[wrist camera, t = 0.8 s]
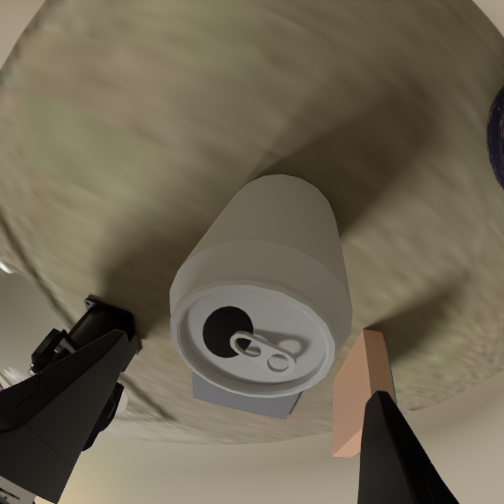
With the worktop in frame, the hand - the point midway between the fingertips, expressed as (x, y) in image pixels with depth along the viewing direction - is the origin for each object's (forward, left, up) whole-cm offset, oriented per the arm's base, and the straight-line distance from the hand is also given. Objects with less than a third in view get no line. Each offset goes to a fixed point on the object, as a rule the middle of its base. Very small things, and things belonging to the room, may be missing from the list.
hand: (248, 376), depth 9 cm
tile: (+10, -12, -13) cm, 20 cm away
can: (0, 0, -13) cm, 13 cm away
